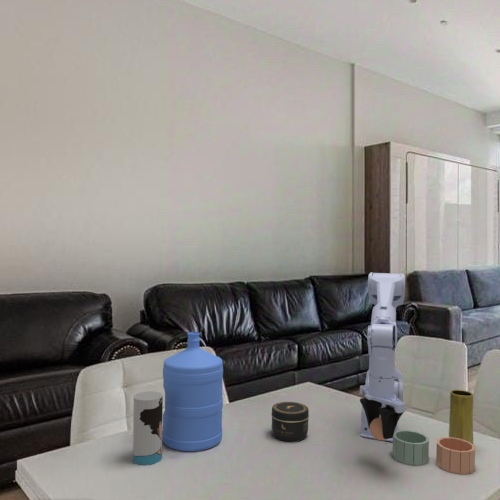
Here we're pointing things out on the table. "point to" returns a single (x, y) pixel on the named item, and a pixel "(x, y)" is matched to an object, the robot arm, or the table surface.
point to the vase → (461, 415)
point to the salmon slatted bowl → (455, 455)
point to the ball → (377, 429)
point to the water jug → (192, 398)
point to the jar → (290, 421)
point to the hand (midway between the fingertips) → (380, 433)
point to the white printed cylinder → (147, 428)
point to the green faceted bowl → (410, 447)
